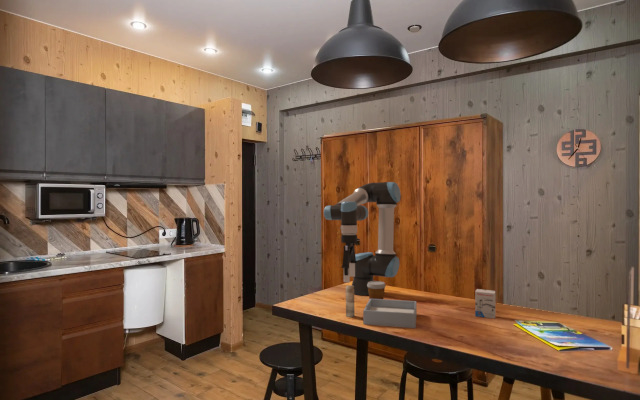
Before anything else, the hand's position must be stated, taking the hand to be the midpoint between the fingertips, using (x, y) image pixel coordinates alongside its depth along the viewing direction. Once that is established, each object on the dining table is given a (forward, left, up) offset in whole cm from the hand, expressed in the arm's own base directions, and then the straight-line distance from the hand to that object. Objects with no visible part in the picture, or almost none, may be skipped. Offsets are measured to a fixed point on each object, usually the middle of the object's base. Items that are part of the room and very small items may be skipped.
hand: (349, 279), depth 178 cm
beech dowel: (0, 0, -17) cm, 17 cm away
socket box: (0, +19, -17) cm, 26 cm away
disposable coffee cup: (-19, +10, -18) cm, 28 cm away
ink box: (-14, +61, -18) cm, 65 cm away
